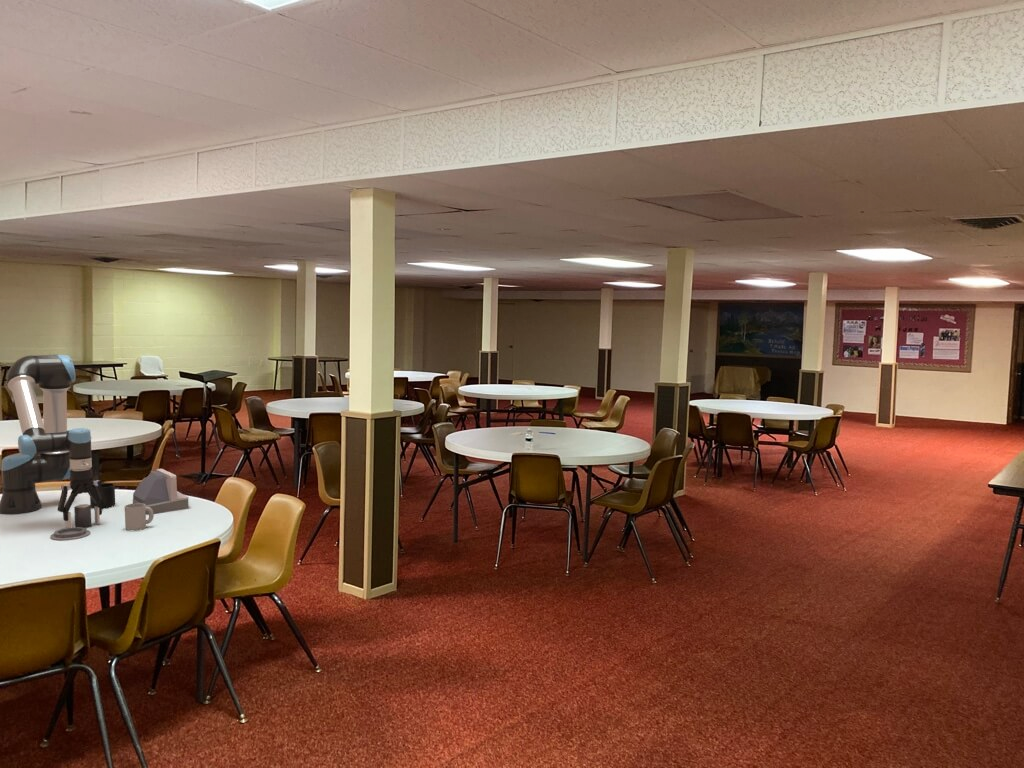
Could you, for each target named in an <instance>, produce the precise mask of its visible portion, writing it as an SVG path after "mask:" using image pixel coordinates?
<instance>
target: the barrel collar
mask: <svg viewBox="0 0 1024 768" xmlns="http://www.w3.org/2000/svg"><path fill="white" fill-rule="evenodd" d="M90 535H91V531H90V530H89V529H88V528H83V527H75V526H73V527H72V526H71V527H70V528H60V529H57V530H55V531H54V532H53V533H52V534H50V536H49V538H50V539H51V540H53V541H72V540H79V539H83V538H86V537H88V536H90Z"/></svg>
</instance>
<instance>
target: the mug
mask: <svg viewBox="0 0 1024 768" xmlns="http://www.w3.org/2000/svg"><path fill="white" fill-rule="evenodd" d="M101 487H102V490H103V493H104V496H105V499H106V502H107V504H106V505H103V507H102V510H103V508H105V509H110V508H113V507H115V506H114V505H116V489H115V484H114V483H111V482H110V483H109V482H105V483H102V482H101ZM91 489H92V491H93V493H94V494H95V495H96V497H97V498H98V500H99V501H100V498H99V495H98V492H97V490H96V486H94V484H93V486H92V487H91ZM89 501H90V503H89V505H91V509H93V508H94V507H96V506H97V505H96V504H95V503H94V501H93V500H92V498H91V497H90V496H89ZM100 502H101V501H100ZM112 506H113V507H112ZM109 507H110V508H109Z"/></svg>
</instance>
